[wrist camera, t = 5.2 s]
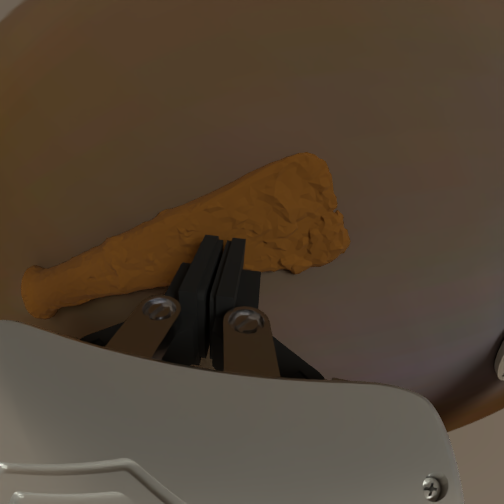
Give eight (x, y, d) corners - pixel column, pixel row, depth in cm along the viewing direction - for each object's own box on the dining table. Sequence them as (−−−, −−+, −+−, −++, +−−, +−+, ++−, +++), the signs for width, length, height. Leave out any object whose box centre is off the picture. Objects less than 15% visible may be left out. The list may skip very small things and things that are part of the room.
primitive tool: (326, 140, 11) (345, 153, 8) (353, 250, 13) (372, 293, 10) (36, 258, 15) (6, 286, 12) (76, 319, 18) (53, 351, 15)
